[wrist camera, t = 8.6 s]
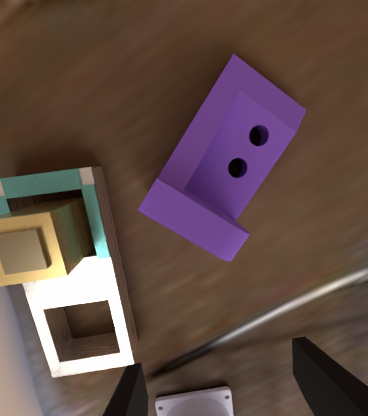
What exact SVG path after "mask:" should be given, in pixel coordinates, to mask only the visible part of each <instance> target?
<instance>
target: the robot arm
mask: <svg viewBox="0 0 368 416" xmlns="http://www.w3.org/2000/svg"><path fill="white" fill-rule="evenodd" d="M292 350H293V374H294V377H295V379H296V381H297V383H298V385H299V387H300V389H301V391H302V394H303V396H304V398H305V400H306V402H307V403H308V405H309V407H310V408H311V410H312V412H313V414H314V415H315V416H368V386H367V385H365V384H364V383H363V382H361V381H360V380H359V379H357V378H356V377H355V376H353V375H352V374H351V373H350V372H348V371H347V370H346V369H344V368H343V367H342V366H341V365H339V364H338V363H337V362H336V361H334V360H333V359H332V358H331V357H329V356H328V355H327V354H326V353H324V352H323V351H322V350H321V349H320V348H318V347H317V346H316V345H315V344H313V343H312V342H311V341H310V340H308V339H307V338H306V337H299V338H293V339H292ZM155 407H156V412H157V416H233V406H232V396H231V390H230V388H229V387H227V386H224V387H218V388H212V389H206V390H200V391H194V392H188V393H182V394H175V395H169V396H163V397H158V398H157V399H156V400H155ZM147 414H148V394H147V389H146V384H145V380H144V375H143V370H142V365H141V363H137V364H130V365H127V367H126V368H125V371H124V373H123V375H122V377H121V379H120V382H119V384H118V386H117V388H116V390H115V392H114V394H113V396H112V398H111V400H110V402H109V404H108V406H107V408H106V410H105V412H104V414H103V415H102V416H147Z"/></svg>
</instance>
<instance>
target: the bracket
mask: <svg viewBox="0 0 368 416" xmlns="http://www.w3.org/2000/svg"><path fill="white" fill-rule="evenodd" d="M305 112H306V109H305V108H303V107H302V106H301V105H299V104H298V103H297V102H295V101H294V100H293V99H292V98H290V97H289V96H288V95H286V94H285V93H284V92H283V91H281V90H280V89H279V88H277V87H276V86H275V85H274V84H272V83H271V82H270V81H268V80H267V79H266V78H265V77H263V76H262V75H261V74H259V73H258V72H257V71H255V70H254V69H253V68H252V67H250V66H249V65H248V64H246V63H245V62H244V61H243V60H241V59H240V58H239V57H237V56H236V55H235V54H233V55H232V57H231V59H230V60H229V62H228V64H227V65H226V67H225V68H224V70H223V72H222V73H221V75H220V77H219V78H218V80H217V82H216V83H215V85H214V86H213V88H212V90H211V91H210V93H209V95H208V96H207V98H206V99H205V101H204V103H203V104H202V106H201V108H200V109H199V111H198V113H197V114H196V116H195V117H194V119H193V121H192V122H191V124H190V126H189V127H188V129H187V130H186V132H185V134H184V135H183V137H182V139H181V140H180V142H179V144H178V145H177V147H176V148H175V150H174V152H173V153H172V155H171V157H170V158H169V160H168V161H167V163H166V165H165V166H164V168H163V170H162V171H161V173H160V175H159V176H158V177H157V179H156V180H155V182H154V184H153V185H152V187H151V189H150V190H149V192H148V194H147V195H146V197H145V199H144V200H143V202H142V204H141V205H140V207H139V209H138V211H139V212H141V213H143V214H144V215H146V216H148V217H150V218H151V219H153V220H155V221H156V222H158V223H160V224H162V225H163V226H165V227H167V228H169V229H170V230H172V231H174V232H175V233H177V234H179V235H181V236H182V237H184V238H186V239H188V240H189V241H191V242H193V243H194V244H196V245H198V246H200V247H201V248H203V249H205V250H207V251H208V252H210V253H212V254H213V255H215V256H217V257H219V258H221V259H223V260H226V261H231V260H232V259H233V258H234V256H235V255H236V253H237V252H238V250H239V249H240V248H241V246H242V245H243V243H244V242H245V241H246V239H247V238H248V236H249V235H250V233H249V232H248V231H247V230H245V229H244V228H243V227H242V226H241V225H240V224H239V223H238V222H236V220H237V218H238V217H239V215H240V214H241V212H242V211H243V209H244V208H245V207H246V205H247V204H248V202H249V201H250V199H251V198H252V196H253V195H254V193H255V192H256V191H257V189H258V188H259V186H260V185H261V183H262V182H263V180H264V179H265V177H266V176H267V175H268V173H269V172H270V170H271V169H272V167H273V166H274V164H275V163H276V161H277V160H278V158H279V157H280V156H281V154H282V153H283V151H284V150H285V148H286V147H287V145H288V144H289V142H290V141H291V140H292V138H293V137H294V135H295V134H296V132H297V130H298V128H299V125H300V123H301V121H302V119H303V116H304V114H305ZM253 127H256V128H257V129H258V130H259V132H260V134H261V142H260V144H259V146H255V145H253V144H252V143H251V142H250V140H249V133H250V131H251V129H252V128H253ZM235 158H239V159H240V161H241V163H242V171H241V173H240V175H239V176H238V177H237V178H234V177H232V176H231V175H230V174H229V172H228V165H229V163H230V162H231V160H233V159H235Z"/></svg>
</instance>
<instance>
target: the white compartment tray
mask: <svg viewBox="0 0 368 416" xmlns="http://www.w3.org/2000/svg"><path fill="white" fill-rule="evenodd" d="M76 189H82V193H83V198H84V202H85V206H86V211H87V215H88V219H89V223H90V228H91V232H92V236H93V241H94V245H95V247H94V248H93V249H92V250H91V251H90V252H89V253H88V254H87V255H86V257H85V258H84V259H83V260H82V261H81V262H80V263H79V264H78V265H77V266H76V267H75V269H74V270H73V271H72V272H71V273H70V274H69V275H68V276H67V277H60V278H53V279H46V280H39V281H33V282H26V283H22V284H23V287H24V290H25V293H26V296H27V299H28V303H29V306H30V309H31V312H32V315H33V318H34V321H35V324H36V327H37V330H38V333H39V336H40V339H41V343H42V346H43V349H44V352H45V355H46V358H47V361H48V364H49V367H50V370H51V373H52V376H53V377H59V376H66V375H72V374H78V373H84V372H91V371H97V370H103V369H109V368H115V367H122V366H127V365H130V364H134V363H135V357H136V352H137V346H138V336H137V331H136V326H135V322H134V317H133V312H132V307H131V302H130V297H129V293H128V288H127V283H126V278H125V273H124V268H123V264H122V259H121V254H120V249H119V244H118V240H117V235H116V230H115V225H114V220H113V215H112V211H111V206H110V201H109V196H108V191H107V187H106V182H105V177H104V172H103V167H102V166H99V167H86V168H79V169H70V170H63V171H55V172H47V173H40V174H32V175H24V176H17V177H9V178H1V179H0V215H2V214H5V213H8V212H12V211H15V210H18V209H21V208H25V207H28V206H31V205H34V202H33V198H32V195H39V194H46V193H54V192H61V191H69V190H76ZM102 300H109V304H110V309H111V313H112V317H113V322H114V326H115V330H116V332H113V333H106V334H100V335H93V336H87V337H80V338H74V339H73V338H72V334H71V331H70V327H69V324H68V320H67V317H66V313H65V310H64V306H68V305H75V304H82V303H88V302H95V301H102Z"/></svg>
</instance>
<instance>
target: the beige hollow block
mask: <svg viewBox="0 0 368 416" xmlns="http://www.w3.org/2000/svg"><path fill="white" fill-rule="evenodd" d="M94 247H95V245H94V241H93V236H92V232H91V228H90V223H89V219H88V215H87V211H86V206H85V202H84V198H83V197H78V198H70V199H63V200H56V201H48V202H41V203H38V204H35V205H31V206H28V207H25V208H21V209H18V210H15V211H12V212H8V213H5V214H2V215H0V286H5V285H12V284H19V283H26V282H33V281H39V280H46V279H53V278H60V277H67V276H68V275H69V274H70V273H71V272H72V271H73V270H74V269H75V267H76V266H77V265H78V264H79V263H80V262H81V261H82V260H83V259H84V258H85V257H86V255H87V254H88V253H89V252H90V251H91V250H92V249H93V248H94Z"/></svg>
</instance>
